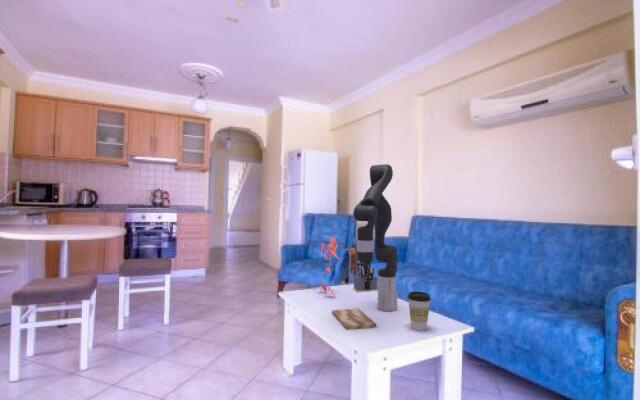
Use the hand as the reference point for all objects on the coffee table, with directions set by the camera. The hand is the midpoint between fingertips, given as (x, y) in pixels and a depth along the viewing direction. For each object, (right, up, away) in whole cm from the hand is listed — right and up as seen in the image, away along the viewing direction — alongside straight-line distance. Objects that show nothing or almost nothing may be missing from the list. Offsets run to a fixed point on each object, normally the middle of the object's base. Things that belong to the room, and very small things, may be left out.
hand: (365, 288), depth 147 cm
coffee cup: (+23, -17, -2) cm, 29 cm away
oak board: (-5, -17, +7) cm, 19 cm away
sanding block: (0, -1, 0) cm, 1 cm away
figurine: (-13, -18, +51) cm, 55 cm away
